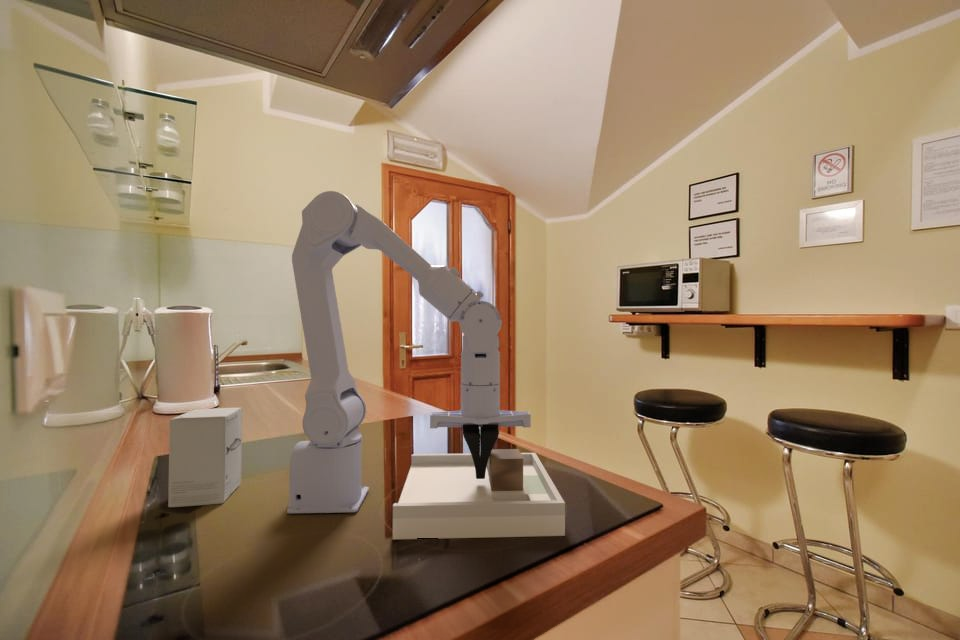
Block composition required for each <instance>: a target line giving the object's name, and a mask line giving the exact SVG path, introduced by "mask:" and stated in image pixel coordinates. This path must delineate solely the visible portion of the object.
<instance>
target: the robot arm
mask: <svg viewBox="0 0 960 640" xmlns="http://www.w3.org/2000/svg"><path fill="white" fill-rule="evenodd" d="M301 220H302V224H301V227H300V231H299V233H298V236H297V239H296V242H295V245H294V248H293V250H292V254H291V263H292V268H293V269H292V270H293V274H294V281H295V289H296V293H297V300H298V305H299V312H300V319H301V324H302V330H303V337H304V343H305V349H306V354H307V361H308V367H309V372H310V373H309V374H310V381H309V384H308V386H307V388H306V391H305V393H304V394H305V395H304V399H305V410H304V414H303V417H302V429H303V432H304V435H305V436H306V438H307V439H308V440H302V441H301V440H300V441H298V442H297V443H296V444H295V446H294V447H293V449H292V450H291V451H292V452H291V455H290V460H289V479H288V482H289V485H288V486H289V491H288V493H289V495H288V497H289V500H288V501H289V503H288V508H287V509H286V513H287V514H329V513H330V514H331V513H335V514H337V513H339V514H340V513H357V512H358V510H359V509H360V507H361V506H362V503H363V502H364V500H365V498H366V496H367V495H368V492H369V490H370V487H369V486H363V485H362V481H363V480H362V478H363V477H362V476H363V475H362V473H363V472H362V470H363V469H362V467H363V465H362V464H363V463H362V461H363V459H362V457H363V456H362V455H363V452H362V451H363V442H362V441H363V435H362V432H361V431H360V428H359V427H360V425H361V424H362V423H363V421H364V420H365V417H366V413H367V408H366V402H365V400H364V398H363V397H362V396H361V394H360V393H359V391H358V387H357V383H356V380H355V378H354V377H353V376H352V374H351V372H350V371H349V365H348V359H347V354H346V347H345V342H344V335H343V329H342V324H341V317H340V311H339V306H338V305H339V304H338V299H337V293H336V287H335V286H336V285H335V282H334V275H333V270H334V269H333V268H334V267H335V266H336V265H337V264H338V263H339V262H340V261H341V259H342V258H343V257H344V256H346V255H347V254H349V253H351V252H353V251H355V250H356V249H358V248H360V247H361V246H362V247H363V248H365V249H368V250H377V251H380V252H382V254H384V255H385V256H386V257H388V258H389V259H390V260H392V261H393V262H394V263H395V264H396V265H397V266H398V267H400V268H402V270H404V271H405V272H407V274H409V275H410V276H411V277H412V278H414V279H415V280H417V283H418V293H419V295H420V297H422V298H423V299H424V300H426V301H427V303H428V304H430V305H431V306H433V307H434V308H435V309H436V310H437V311H438V312H439V313H441V314H442V315H443V316H444V317H445V318H447V320H449V321H450V322H451V323H454V322H458V324H459V329H460V330H461V333H462V334H463V335H462V350H461V352H460V410H452V411H451V410H450V411H448V410H447V411H435V412H434V411H433V412H430V414H429V429H438V428H462V436H463V438H464V440H465V442H466V444H467V446H468V449H469V452H470V453H471V455H472V458H473V462H474V466H475V471H476V479H485V472H486V467H487V463H488V460H489V456H490V454H491V451H492V449H494V446H495V444H496V442H497V440H498V438H499V435H500V430H499V428H501V427H522V428H531V426H532V425H531V422H532V421H531V417H532V416H531V413H530V411H521V410H520V411H518V410H501V352H500V350H499V347H500V338H499V335H498V334H499V332H500V330H501V328H502V324H503V320H501V319H502V318H501V314H500V312H499V310H498V308H497V307H496V306H495V305H493V304H492V303H491V302H488V301H484V300H482V298H483V297H484V293H483V292H482V291H481V290H478V291H476V290H474V288H472V287H471V286H470V285H469V284H467V283H466V282H465V281H464V280H463V278H460V277H459V275H460V272H459V270H457V268H455V267H454V266H453V267H451V268H449V267H448V266H447V265H445V264H441V265H440V264H439V265H432V264H430V263H429V262H428V261H427V260H426V259H425V258H424V257H422V255H420V254H419V253H418V252H417V250H415V249H414V248H413V247H411V246H410V245H409V243H407V242H406V241H405V240H404V239H403V238H401V237H400V235H398V234H397V233H396V232H395V231H394V230H393V229H391V228H390V227H389V226H388V225H387V224H386V223H385V222H384V221H382V220H381V219H380V218H378V217H376V216H375V215H374V214H373V213H371V212H369V210H367V209H365V208H364V207H362V206H360V205H359V204H357V203H355V204H353V203H352V201H351V200H350V199H349V197H347V196H346V195H345V194H343V193H342V192H340V191H334V190H328V191H323V192H321V193H319V194H317V195H315V197H314V198H313V199H312V200H311V201H310V202H308V204H307V205H306V206H305V207H304V208H303V209H302V210H301Z"/></svg>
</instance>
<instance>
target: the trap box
mask: <svg viewBox="0 0 960 640" xmlns="http://www.w3.org/2000/svg"><path fill="white" fill-rule="evenodd" d="M520 453H521V455H522V457H523V491H491V486H490V481H489V460H488V463H487V467H486V472H485V479H476V471H475V466H474V462H473V458H472V455H471V452H470V453H468V452H467V453H418V454H417V453H413V454H411V465H410V468H409V470H408V474H407V476H406V480H405V483H404V485H403V488H402V490H401V493H400V497H399V499H398V502H395V503H393V504H392V540H418V539H417V538H438V539H471V538H472V539H473V538H478V539H479V538H484V539H485V538H517V537H518V538H520V537H525V538H526V537H563V536H564V537H565V536H566V502H565V500H564V499H563V497H562V496H561V494H560V492H559V490H558V488H557V487H556V485H555V483H554V482H553V480H552V478H551V477H550V475H549V474H548V471H547V470H546V468H545V467H544V465H543V463H542V462H541V460H540V458H539V456H538V455H537V453H536V452H520Z"/></svg>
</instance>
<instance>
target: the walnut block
mask: <svg viewBox="0 0 960 640" xmlns="http://www.w3.org/2000/svg"><path fill="white" fill-rule="evenodd" d="M521 453H522V452H521V451H520V449H519V448H502V449H501V448H499V449H498V448H493V449H492V451H491V454H490V456H489V481H490V486H491V491H523V457H522V455H521Z"/></svg>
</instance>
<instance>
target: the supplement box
mask: <svg viewBox="0 0 960 640" xmlns="http://www.w3.org/2000/svg"><path fill="white" fill-rule="evenodd" d="M242 418H243V407H217V408H215V407H213V408H199V409H192V410H191V409H190V411H187V412H185V413H182V414H180V415H178V416H175V417H172V418H170V419H169V440H168V441H169V442H168V443H169V447H168V491H167V493H168V496H167V497H168V498H167V499H168V500H167V502H168V504H167V508H182V507H194V506H196V507H197V506H207V505H220V504H224V503H225V502H226V500H227V499H228V498H229V497H230V496H231V494H232V493H234V491H235V490H237V488H239V487H240V486H241V484H242V446H243V445H242V444H243V443H242V440H243V439H242V438H243V437H242V436H243V435H242V434H243V433H242V431H243V430H242V429H243V428H242V427H243V426H242V425H243V421H242V420H243V419H242Z"/></svg>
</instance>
